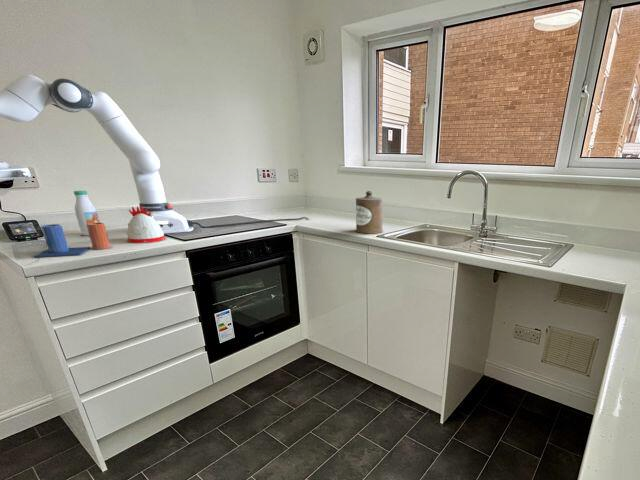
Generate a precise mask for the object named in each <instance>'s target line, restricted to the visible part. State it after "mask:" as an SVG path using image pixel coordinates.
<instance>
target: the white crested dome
mask: <svg viewBox="0 0 640 480" xmlns="http://www.w3.org/2000/svg"><path fill="white" fill-rule="evenodd" d="M128 212H129V213H130V215H132V216H133V217H131V219H130V220H129V222H128V223H127V232H126V237H127V241H128V243H132V244H147V243H154V242H155V243H156V242H161V241H164V240H165V239H166V237H165V234H164V233H163V231H162V229H161V228H160V226H159V224H158V223H157V222H156V221H155V220H154V219H153V218H152V217H150V215H151V211H150V213H149V214H147V209H145V211H144V210H143V208H142V206H141V211H140V207H139V206H136V208H135V207H134V206H131V209H128Z"/></svg>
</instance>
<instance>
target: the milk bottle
mask: <svg viewBox="0 0 640 480" xmlns="http://www.w3.org/2000/svg"><path fill="white" fill-rule="evenodd" d="M73 194H74V197H75V204H74V212H75V217H76V220H77V222H78V227H79V231H80V233H81V235H82V236H89V233H88V230H87V226H86V224H88V223H98V222H99V223H101V222H100V218H99V215H98V211H97V209H96V207H95V205H94V204H93V203H92V202H91V200H90V198H89V195H88V191H87V190H74V191H73Z"/></svg>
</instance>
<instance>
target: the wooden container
mask: <svg viewBox="0 0 640 480" xmlns="http://www.w3.org/2000/svg"><path fill="white" fill-rule="evenodd" d="M355 224H356V225H355V231H356V232H357V233H359V234H379V233H380V234H381V233H382V232H383V198H381V197H374V196H373V192H372V191H370V190H367V191H366V192H365V196H363V197H356V198H355Z"/></svg>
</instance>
